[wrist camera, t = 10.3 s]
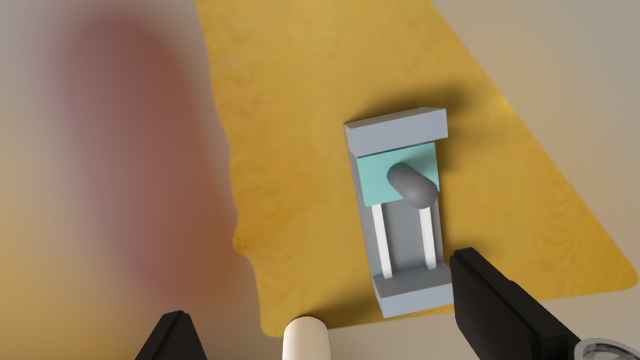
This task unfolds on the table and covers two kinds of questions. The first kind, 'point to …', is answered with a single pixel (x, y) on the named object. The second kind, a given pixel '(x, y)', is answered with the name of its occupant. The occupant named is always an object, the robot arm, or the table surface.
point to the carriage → (400, 175)
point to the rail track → (401, 218)
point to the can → (306, 340)
